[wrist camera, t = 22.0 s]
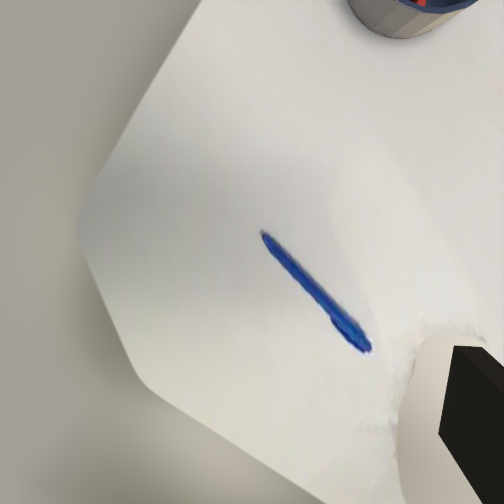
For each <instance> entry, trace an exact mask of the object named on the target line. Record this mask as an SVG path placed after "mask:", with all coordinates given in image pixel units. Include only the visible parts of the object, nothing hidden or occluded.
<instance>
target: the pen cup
mask: <svg viewBox="0 0 504 504" xmlns="http://www.w3.org/2000/svg"><path fill="white" fill-rule="evenodd" d="M477 1H478V0H426V4H425V6H421V5H418V4H416V3H414V2H412V1H409V0H348V2H349V4H350V6H351V8H352V10H353V12H354V13H355V15H356V16H357V17H358V19H359V20H360V21H361V22H362V23H363V24H364V25H365V26H367V27H368V28H369V29H371V30H372V31H374V32H376V33H378V34H380V35H383V36H386V37H390V38H410V37H415V36H418V35H421V34H424V33H426V32H429V31H431V30H432V29H434V28H435V27H437V26H439V25H440V24H442V23H443V22H445V21H447V20H448V19H450V18H451V17H453V16H455V15H456V14H458V13H459V12H461V11H463V10H464V9H466V8H468V7H469V6H471V5H472V4H474V3H475V2H477Z"/></svg>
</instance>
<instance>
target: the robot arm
mask: <svg viewBox="0 0 504 504" xmlns="http://www.w3.org/2000/svg"><path fill="white" fill-rule="evenodd" d="M438 434H439V436H440V437H441V439H442V440H443V442H444V443H445V445H446V447H447V448H448V450H449V451H450V453H451V454H452V456H453V458H454V459H455V461H456V462H457V464H458V466H459V467H460V469H461V470H462V472H463V474H464V475H465V477H466V478H467V480H468V481H469V483H470V485H471V486H472V488H473V489H474V491H475V492H476V494H477V496H478V497H479V499H480V500H481V502H482V503H483V504H504V367H503V366H502V365H501V364H500V363H499V362H498V361H497V360H496V359H495V358H493V357H492V356H491V355H490V354H489V353H488V352H487V351H486V350H484V349H483V348H482V347H472V346H454V348H453V354H452V359H451V365H450V371H449V377H448V382H447V387H446V393H445V399H444V404H443V410H442V416H441V421H440V427H439V432H438Z"/></svg>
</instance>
